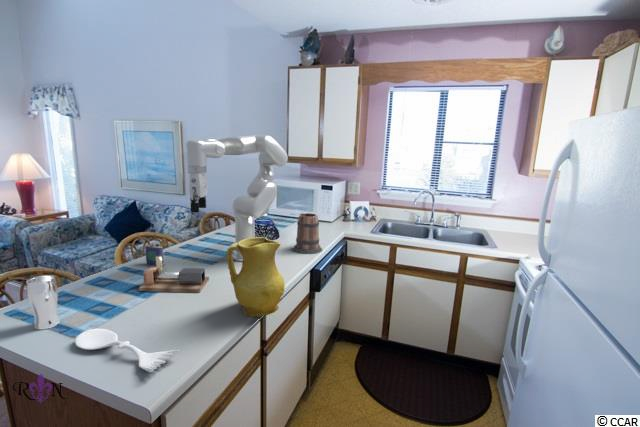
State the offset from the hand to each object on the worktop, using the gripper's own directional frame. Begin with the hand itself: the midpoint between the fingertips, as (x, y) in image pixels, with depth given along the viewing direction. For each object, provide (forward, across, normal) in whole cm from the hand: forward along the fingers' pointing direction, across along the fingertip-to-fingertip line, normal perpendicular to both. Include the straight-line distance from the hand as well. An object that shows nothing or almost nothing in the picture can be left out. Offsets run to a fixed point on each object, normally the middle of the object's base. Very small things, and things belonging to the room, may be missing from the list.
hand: (198, 209), depth 141 cm
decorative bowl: (+29, +60, -20) cm, 69 cm away
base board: (+28, -15, +6) cm, 32 cm away
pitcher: (+28, -32, -30) cm, 52 cm away
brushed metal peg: (+26, -15, +8) cm, 31 cm away
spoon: (+29, -59, +3) cm, 66 cm away
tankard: (+29, +38, -49) cm, 68 cm away
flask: (+29, +8, +24) cm, 38 cm away
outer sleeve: (+27, -15, -1) cm, 31 cm away
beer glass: (+28, -45, +33) cm, 63 cm away
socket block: (+27, -15, +15) cm, 34 cm away
